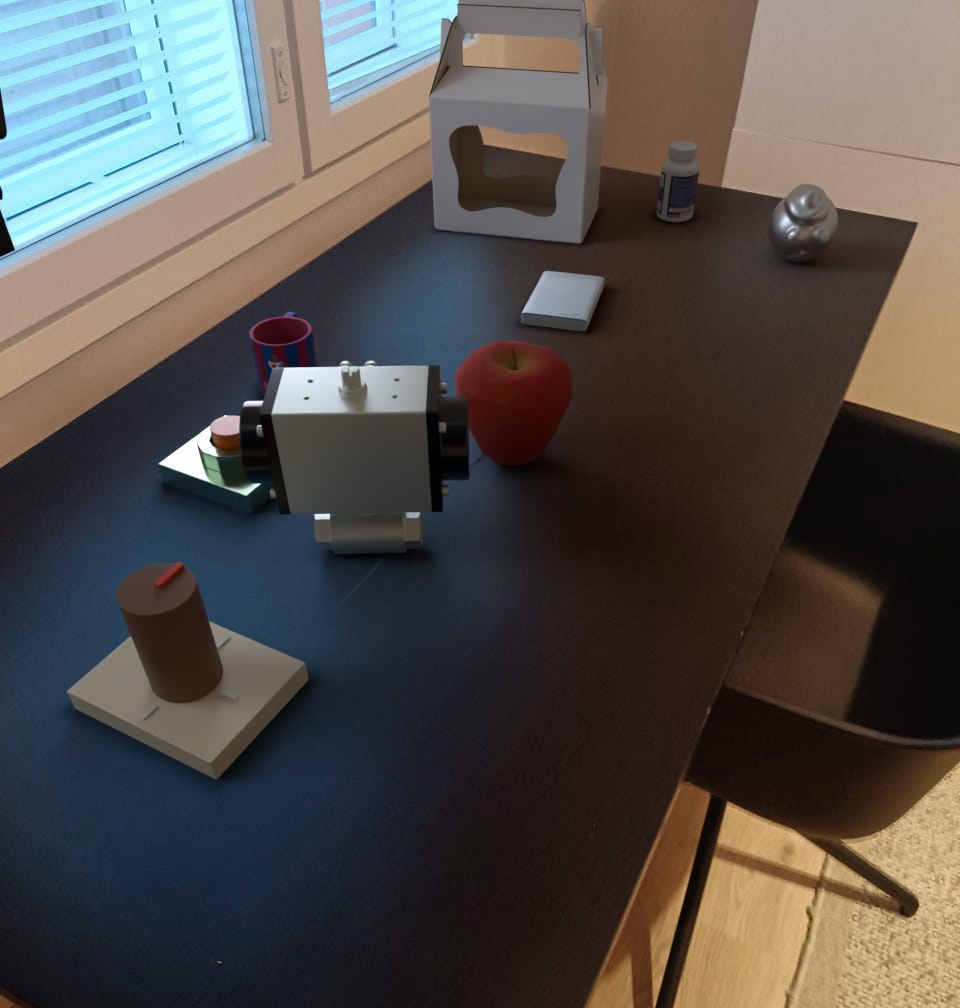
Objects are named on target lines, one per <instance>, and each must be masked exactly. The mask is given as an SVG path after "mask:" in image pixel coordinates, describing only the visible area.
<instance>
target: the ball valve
mask: <svg viewBox="0 0 960 1008" xmlns="http://www.w3.org/2000/svg"><path fill="white" fill-rule="evenodd" d="M447 394H448V383H447V382H441V365H440V364H438V365H430V364H429V365H380V366H379V365H378V363H377V362H376V361H374V360H367V361H365V363H364V365H363V366H357V365H353V363H352V362H350V361H348V360H343V361H341V362H340V363H339V366H318V367H306V368H273V369H272V372H271V376H270V379H269V383H268V386H267V390H266V393H265V396H263V399H260V400H258V399H257V400H256V399H255V400H246V401H244V402H243V404H242V406H241V409H240V413H239V416H240V423H239V441H240V452H241V459H242V464H243V468H244V471H245V474H246V477H247V479H248V480H249V482H250V483H252V484H272V483H273V485H274V488H271V489H270V497H271V498H270V499H276V505H277V508H278V513H279V515H281V516H283V515H285V516H286V515H314V517H313V532H314V533H313V535H314V540H315V545H316V547H317V549H319V550H320V551H332V552H333V554H334V555H350V554H359V555H360V554H406V553H407V550H408V549H409V550H412V549H415V550H417V549H421V548H422V546H423V540H424V539H423V536H424V525H423V524H424V523H423V522H424V521H423V513H443V512H444V496H447V497H448V496H450V488H449V487H450V486H449V485H448V484H445V482H446V481H447V482H448V481H449V482H453V481H457V482H459V481H469V480H470V432H469V431H470V430H469V423H468V398H467V397H457V396H451V397H449V396H446V397H445V396H444V397H443V395H447Z"/></svg>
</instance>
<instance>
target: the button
mask: <svg viewBox="0 0 960 1008" xmlns="http://www.w3.org/2000/svg"><path fill="white" fill-rule="evenodd" d="M223 416H224V417H223ZM223 416H221V417H218V418H217V419H215V420H213V421H212V422H211V423H210V425H209V426H210V432H211V436H212V440H213V444H214V446H215V447H216V448H218V449H221V450H234V449H237V448H240V441H239V423H240V415H233V414H232V415H226V416H225V415H223Z"/></svg>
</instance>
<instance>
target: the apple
mask: <svg viewBox="0 0 960 1008" xmlns="http://www.w3.org/2000/svg"><path fill="white" fill-rule="evenodd" d="M454 378H455V397H467V398H468V423H469V431H470V432H469V433H470V434H471V436H472V438H473V439H474V441H475V443H476V445H477V447H478V448H479V450H480V452H481V453H482V454H483V455H484V456H486V457H487V458H489V459H491V460H492V461H494V462H496V463H498V464H501V465H504V466H512V467H513V466H514V467H515V466H522V465H525V464H528V463H530V462H533V461H535V460H537V459H538V458H539V457H540V456H542V455H543V454H544V453H545V451H546V450H547V449H548V447H549V444H550V443H551V441H552V440H553V438H554V437H555V435H556V433H557V432H558V429H559V427H560V425H561V423H562V421H563V418H564V416H565V415H566V413H567V410H568V408H569V406H570V403H571V400H572V398H573V396H574V388H573V387H574V386H573V385H574V384H573V375H572V372H571V369H570V367H569V364H568V363H567V362H566V361H565V360H564V359H563V358H562V357H561V356H560V355H559V354H558V353H556V352H555V351H553V350H552V349H550V348H549V347H547V346H543V345H539V344H536V343H531V342H525V341H520V340H497V341H494V342H491V343H488V344H485V345H483V346H481V347H480V348H478V349H476V350H475V351H473V352H471V354H470V355H468V356H467V358H465V360H464V361H463V362H462V363H461V365H460V366H459V368H458V369H457V370H456V372H455V373H454Z"/></svg>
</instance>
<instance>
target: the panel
mask: <svg viewBox="0 0 960 1008" xmlns="http://www.w3.org/2000/svg"><path fill="white" fill-rule="evenodd" d="M209 623H210V626H211V630H212V633H213V636H214V639H215V643H216V646H217V649H218V653H219V656H220V659H221V662H222V666H223V675H222V678H221V680H220V682H219V684H218V685H217V686H216V687H215V689H213V690H212V691H211V692H210V693H208V694H207V695H205V696H204V697H202V698H199V699H197V700H194V701H190V702H184V703H174V702H168V701H165V700H163V699H161V698H159V697H158V696H157V695H156V694H155V693H154V692H153V690H152V688H151V686H150V683H149V681H148V678H147V676H146V673H145V670H144V668H143V665H142V663H141V660H140V658H139V655H138V653H137V650H136V648H135V645H134V643H133V640H132V637H131V635H130V636H129V637H128V638H126V639H125V640H124V641H122V643H121V644H119V645H118V646H117V647H115V649H114V650H112V651H111V652H110V653H109V654H108V655H107V656H105V657H104V658H103V659H102V660H101V661H100V662H99V663H98V664H96V665H95V666H94V667H93V668H91V670H90V671H89V672H87V673H86V674H84V676H83V677H82V678H80V679H79V680H78V681H77V682H75V683H74V685H72V686H71V687H70V688H69V689H67V691H66V693H67V695H68V697H69V700H70V701H71V704H72V706H73V708H74V709H75V710H77V711H79V712H81V713H83V714H84V715H87V716H89V717H91V718H93V719H95V720H96V721H99V722H101V723H103V724H105V725H106V726H109V727H111V728H113V729H114V730H117V731H118V732H120V733H123V734H124V735H127V736H129V737H130V738H132V739H135V740H136V741H139V742H140V743H142V744H145V745H146V746H148V747H150V748H152V749H155V750H156V751H158V752H160V753H161V754H162V753H163V754H164V755H166V756H168V757H170V758H172V759H174V760H176V761H178V762H180V763H182V764H184V765H186V766H188V767H189V768H191V769H194V770H196V771H198V772H200V773H202V774H204V775H206V776H208V777H210V778H212V779H214V780H216V781H217V780H218V779H219V778H220V777H221V776H222V775H223V774H224V772H225V771H227V770H228V768H229V767H230V766H231V765H232V764H233V763H234V762H235V760H236V759H238V757H239V756H240V755H241V754H242V753H243V752H244V751H245V750H246V749H247V747H248V746H249V745H250V744H252V742H253V741H254V740H255V739H256V738H257V737H258V736H259V735H260V733H261V732H262V731H263V730H265V728H266V727H267V726H268V725H269V724H270V723H271V721H272V720H274V718H275V717H277V715H278V714H279V713H280V712H281V710H283V708H284V707H285V706H286V705H287V704H289V702H290V701H291V700H292V699H293V698H294V697H295V696H296V694H298V692H299V691H300V690H301V689H302V688H303V687H304V686H305V684H307V682H308V681H309V680H310V679H309V675H308V670H307V665H306V662H305V661H303V660H300V659H298V658H296V657H293V656H291V655H289V654H286V653H283V652H282V651H279V650H277V649H274V648H272V647H270V646H268V645H265V644H263V643H261V642H258V641H256V640H254V639H251V638H249V637H246V636H244V635H243V634H239V633H237V632H235V631H232V630H230V629H228V628H226V627H223V626H221V625H219V624H216V623H214V622H212V621H209Z"/></svg>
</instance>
